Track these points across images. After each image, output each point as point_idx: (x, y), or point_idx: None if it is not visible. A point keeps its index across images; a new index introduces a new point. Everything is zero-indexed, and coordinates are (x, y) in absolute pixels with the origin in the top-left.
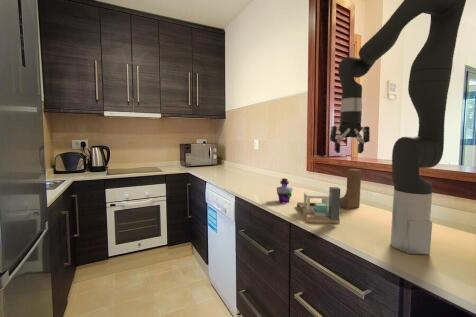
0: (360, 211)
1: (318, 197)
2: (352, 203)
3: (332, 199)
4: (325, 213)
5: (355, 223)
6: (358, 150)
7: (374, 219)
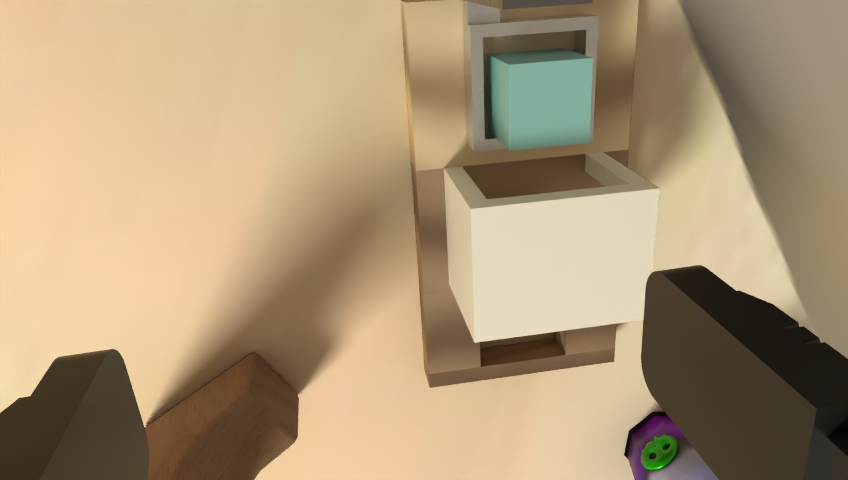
0: (162, 323)
1: (562, 194)
2: (203, 403)
3: None
4: (517, 21)
5: (280, 14)
6: (125, 477)
7: (102, 140)
